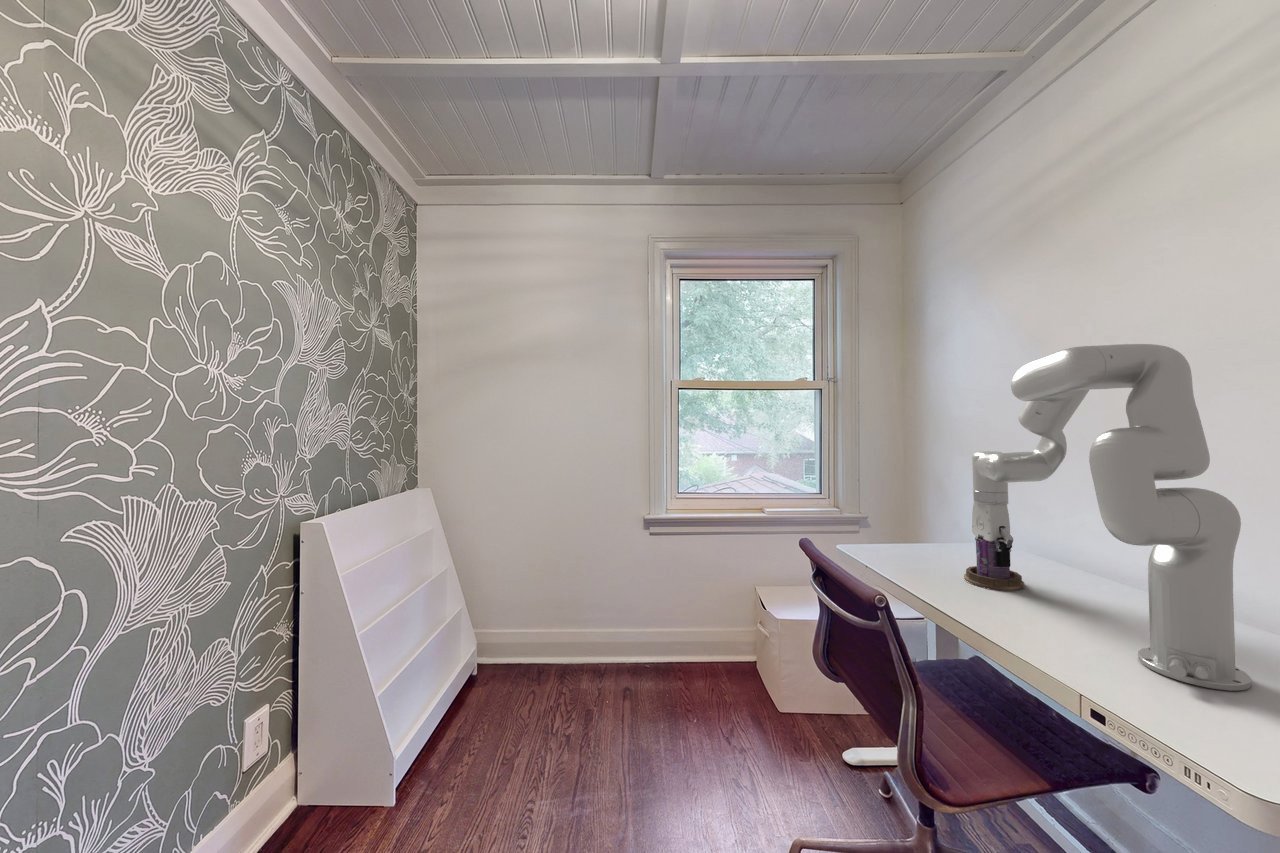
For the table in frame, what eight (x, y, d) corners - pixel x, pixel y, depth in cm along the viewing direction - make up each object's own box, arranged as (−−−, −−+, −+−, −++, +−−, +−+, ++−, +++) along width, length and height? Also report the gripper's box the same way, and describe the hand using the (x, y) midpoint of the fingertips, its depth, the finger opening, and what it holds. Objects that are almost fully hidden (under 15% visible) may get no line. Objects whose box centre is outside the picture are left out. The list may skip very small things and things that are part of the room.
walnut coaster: (1017, 594, 117) (1017, 584, 117) (957, 582, 127) (956, 572, 127) (1030, 582, 125) (1029, 572, 125) (972, 571, 135) (972, 562, 135)
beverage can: (986, 573, 131) (985, 530, 131) (1015, 581, 124) (1014, 535, 124) (971, 578, 128) (969, 534, 128) (1000, 585, 121) (998, 539, 121)
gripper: (959, 492, 135) (961, 552, 135) (993, 503, 118) (995, 571, 118) (988, 492, 134) (990, 552, 134) (1026, 502, 117) (1028, 571, 117)
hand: (992, 561), depth 126 cm, fingers open, 9 cm apart
